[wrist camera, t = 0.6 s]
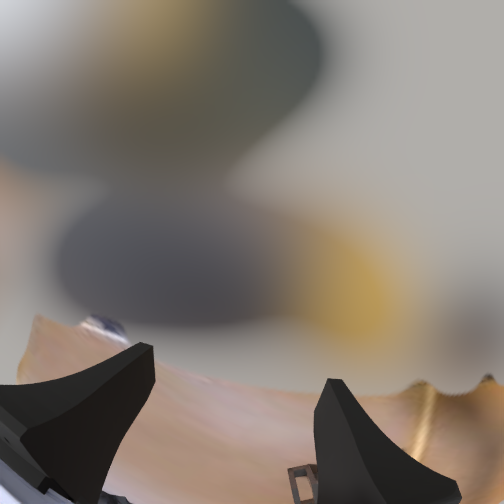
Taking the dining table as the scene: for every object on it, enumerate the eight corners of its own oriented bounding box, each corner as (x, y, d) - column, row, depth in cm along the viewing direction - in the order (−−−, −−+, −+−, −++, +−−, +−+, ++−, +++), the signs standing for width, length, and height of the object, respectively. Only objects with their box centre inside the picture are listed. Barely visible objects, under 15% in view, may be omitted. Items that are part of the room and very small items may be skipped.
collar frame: (316, 503, 25) (325, 525, 19) (296, 507, 25) (301, 531, 19) (309, 464, 28) (317, 483, 22) (287, 468, 28) (291, 489, 22)
